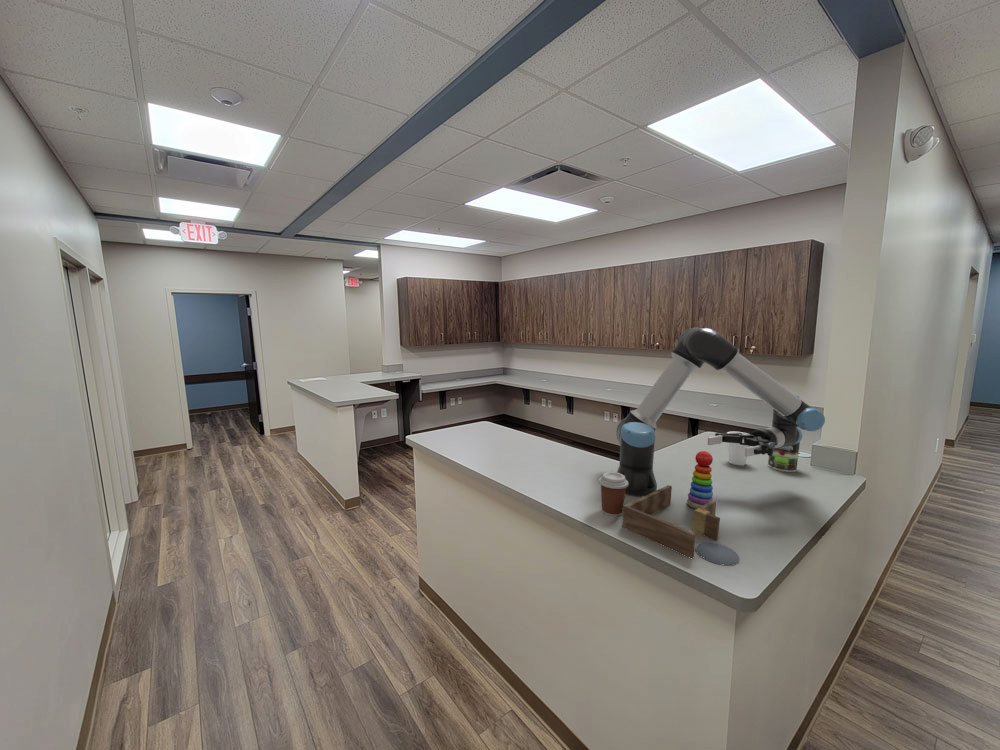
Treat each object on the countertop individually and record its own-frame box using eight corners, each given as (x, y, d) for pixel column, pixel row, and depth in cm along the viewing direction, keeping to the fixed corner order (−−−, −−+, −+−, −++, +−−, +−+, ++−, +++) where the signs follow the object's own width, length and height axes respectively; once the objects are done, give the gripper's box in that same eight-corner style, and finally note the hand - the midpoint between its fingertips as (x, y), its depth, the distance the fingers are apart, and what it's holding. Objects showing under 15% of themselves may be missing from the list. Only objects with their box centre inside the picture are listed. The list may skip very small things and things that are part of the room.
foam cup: (754, 466, 171) (756, 437, 169) (732, 466, 171) (735, 437, 169) (741, 459, 180) (743, 431, 179) (720, 459, 180) (722, 431, 179)
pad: (700, 561, 101) (700, 559, 101) (692, 541, 111) (692, 539, 111) (744, 568, 98) (744, 566, 98) (732, 547, 108) (733, 545, 108)
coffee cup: (592, 511, 127) (593, 475, 126) (605, 502, 134) (607, 468, 133) (619, 521, 121) (621, 483, 120) (631, 511, 128) (633, 475, 127)
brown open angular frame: (691, 559, 102) (693, 535, 101) (622, 526, 118) (623, 505, 117) (733, 528, 118) (735, 507, 117) (667, 503, 134) (668, 485, 133)
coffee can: (795, 474, 163) (798, 440, 161) (765, 467, 170) (768, 435, 168) (798, 467, 170) (802, 435, 168) (769, 462, 177) (773, 431, 175)
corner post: (703, 535, 114) (705, 514, 113) (692, 531, 116) (694, 510, 115) (708, 532, 115) (709, 511, 115) (697, 528, 118) (699, 507, 117)
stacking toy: (716, 512, 128) (721, 456, 125) (690, 510, 129) (694, 454, 127) (709, 502, 135) (713, 449, 133) (684, 499, 137) (687, 447, 135)
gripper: (804, 459, 132) (762, 469, 123) (733, 440, 154) (694, 447, 146) (806, 437, 131) (764, 445, 122) (734, 421, 153) (695, 427, 145)
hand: (726, 446), depth 134 cm, fingers open, 13 cm apart
